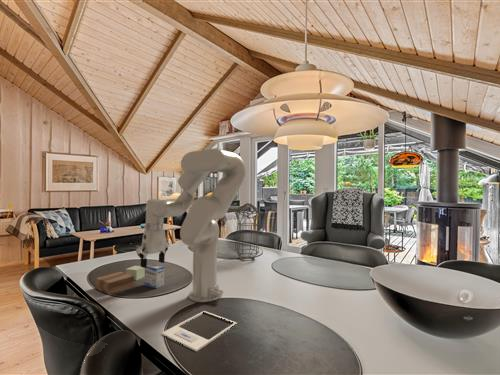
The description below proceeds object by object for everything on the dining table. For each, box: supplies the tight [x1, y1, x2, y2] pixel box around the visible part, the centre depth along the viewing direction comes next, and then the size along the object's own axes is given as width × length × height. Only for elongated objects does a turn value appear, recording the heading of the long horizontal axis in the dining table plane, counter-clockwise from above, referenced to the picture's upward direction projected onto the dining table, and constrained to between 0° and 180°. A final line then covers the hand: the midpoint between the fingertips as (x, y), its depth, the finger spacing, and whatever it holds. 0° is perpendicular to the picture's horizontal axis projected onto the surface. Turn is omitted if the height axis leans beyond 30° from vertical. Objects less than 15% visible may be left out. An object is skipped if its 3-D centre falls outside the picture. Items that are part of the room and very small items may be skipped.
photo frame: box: [161, 310, 238, 352], centre depth 84 cm, size 15×1×18 cm
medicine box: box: [143, 264, 165, 289], centre depth 121 cm, size 8×4×9 cm, turn 62°
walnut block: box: [95, 271, 135, 295], centre depth 118 cm, size 11×11×5 cm
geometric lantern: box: [233, 202, 264, 262], centre depth 169 cm, size 16×16×35 cm
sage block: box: [125, 265, 145, 281], centre depth 131 cm, size 6×6×5 cm
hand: (152, 264), depth 121 cm, fingers open, 9 cm apart
